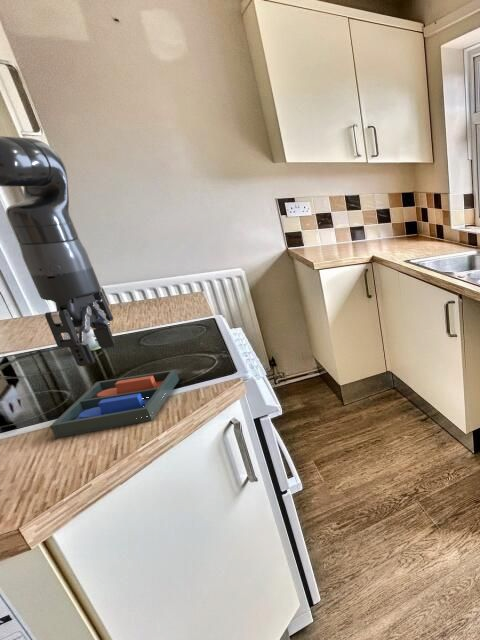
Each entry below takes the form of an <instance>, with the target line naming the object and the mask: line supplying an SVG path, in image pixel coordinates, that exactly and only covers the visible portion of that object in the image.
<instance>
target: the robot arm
mask: <svg viewBox="0 0 480 640" xmlns="http://www.w3.org/2000/svg"><path fill="white" fill-rule="evenodd" d="M0 187H3V188H19V187H23V198H22V200H21V201H19V202H16V203H14V204H11V205H9V206H8V207H7V208H6V210H5V215H6V219H7V222H8V223H9V226H10V228H11V230H12V233H13V235H14V237H15V240H16V241H17V243H18V246H19V249H20V253H21V256H22V261H23V262H24V265H25V266H26V269H27V271H28V273H29V275H30V278H31V280H32V282H33V285H34V286H35V289H36V291H37V293H38V295H39V297H40V298H41V299H42V300H44V301H50V302H51V301H52V302H54V303H55V309H56V311H49V312H45V313H44V317H45V319H46V322H47V324H48V326H49V329H50V332H51V334H52V337H53V340H54V342H55V345H56V347H57V348H69V350H70V353H71V354H72V357H73V359H74V362H75V364H76V365H77V366H78V367H86V366H92V365H94V364H95V363H96V360H95V357H94V355H93V353H92V351H91V350H90V348H89V345H88V344H87V333H88V332H89V331H90V329H92V330H93V332H94V338H95V339H96V341H97V342H98V344H99V346H100V347H101V348H100V349H105V348H106V349H108V348H113V347H114V346H116V341H115V338H114V336H113V334H112V331H111V328H110V327H111V322H112V321H113V320H114V316H113V314H112V311H111V309H110V307H109V304H108V302H107V300H106V297H105V295H104V292H103V291H102V290H101V289H102V287H101V285H100V283H99V280H98V277H97V275H96V272H95V270H94V267H93V265H92V262H91V259H90V257H89V254H88V252H87V249H86V248H85V246H84V245H83V243H82V241H81V239H80V237H79V235H78V234H79V233H78V232H77V229H76V226H75V225H74V222H73V219H72V217H71V214H70V195H69V178H68V173H67V169H66V165H65V163H64V162H63V160H62V158H61V157H60V155H59V154H58V153H57V152H56V151H55V150H54V148H52V147H51V146H49V144H47V143H45V142H43V141H41V140H39V139H36V138H33V137H32V138H31V137H22V136H21V137H17V136H3V135H2V136H1V135H0ZM78 333H79V335H78Z"/></svg>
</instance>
